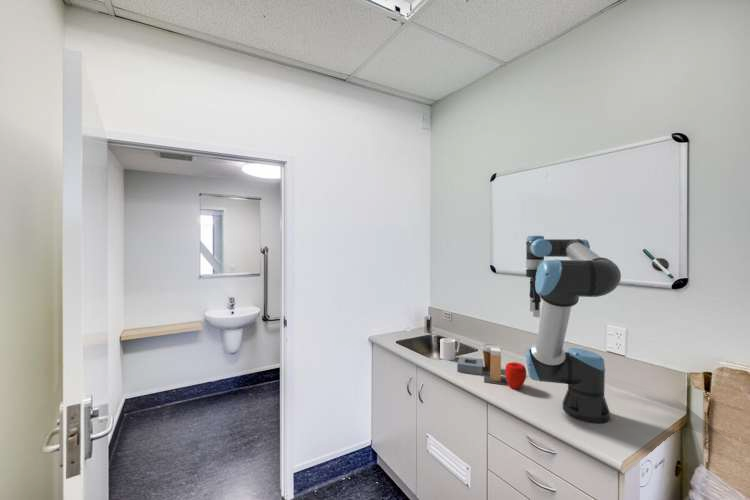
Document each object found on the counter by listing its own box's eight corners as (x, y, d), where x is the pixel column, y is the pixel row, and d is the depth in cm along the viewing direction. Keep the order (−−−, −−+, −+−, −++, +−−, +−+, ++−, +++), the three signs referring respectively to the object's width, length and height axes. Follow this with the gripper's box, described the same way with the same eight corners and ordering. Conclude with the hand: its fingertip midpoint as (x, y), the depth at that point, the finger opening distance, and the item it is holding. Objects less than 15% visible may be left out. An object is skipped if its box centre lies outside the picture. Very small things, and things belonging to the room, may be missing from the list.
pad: (507, 385, 148) (507, 384, 148) (483, 382, 151) (483, 381, 151) (506, 377, 157) (506, 376, 157) (484, 374, 160) (484, 373, 160)
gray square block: (482, 375, 160) (482, 366, 160) (457, 371, 164) (457, 363, 164) (483, 366, 171) (483, 359, 171) (459, 363, 175) (459, 356, 175)
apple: (524, 393, 140) (524, 368, 140) (503, 388, 144) (503, 364, 144) (527, 386, 147) (527, 362, 147) (507, 381, 152) (507, 358, 152)
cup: (463, 358, 184) (463, 340, 184) (445, 360, 180) (445, 342, 180) (455, 354, 192) (455, 337, 192) (437, 356, 188) (437, 338, 188)
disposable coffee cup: (481, 371, 164) (482, 347, 164) (481, 365, 173) (481, 342, 173) (502, 374, 161) (502, 349, 161) (500, 367, 170) (500, 344, 170)
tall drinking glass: (500, 381, 151) (500, 351, 151) (490, 380, 153) (490, 350, 153) (500, 377, 155) (500, 348, 155) (490, 376, 157) (490, 347, 157)
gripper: (548, 270, 139) (547, 320, 139) (540, 267, 162) (539, 309, 162) (528, 270, 141) (528, 318, 141) (523, 267, 165) (523, 308, 165)
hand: (534, 314), depth 152 cm, fingers open, 13 cm apart
